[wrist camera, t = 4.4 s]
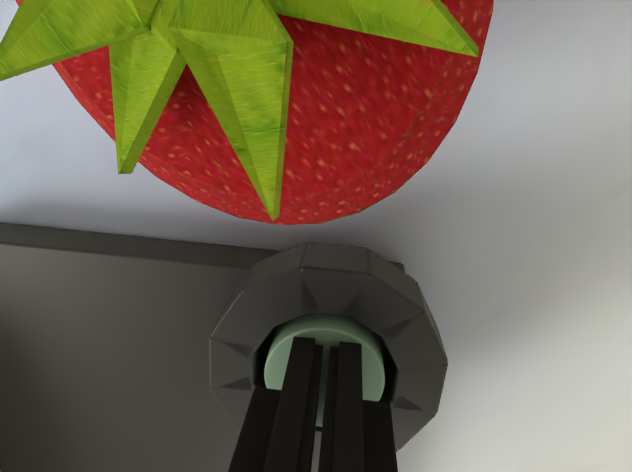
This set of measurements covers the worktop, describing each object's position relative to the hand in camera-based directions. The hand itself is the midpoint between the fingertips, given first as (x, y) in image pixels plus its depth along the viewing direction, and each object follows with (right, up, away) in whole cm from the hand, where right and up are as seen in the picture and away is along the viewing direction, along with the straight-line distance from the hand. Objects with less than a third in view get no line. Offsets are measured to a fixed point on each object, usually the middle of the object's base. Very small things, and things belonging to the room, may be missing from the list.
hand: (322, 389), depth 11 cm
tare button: (0, +1, +1) cm, 2 cm away
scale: (-5, -2, +5) cm, 7 cm away
